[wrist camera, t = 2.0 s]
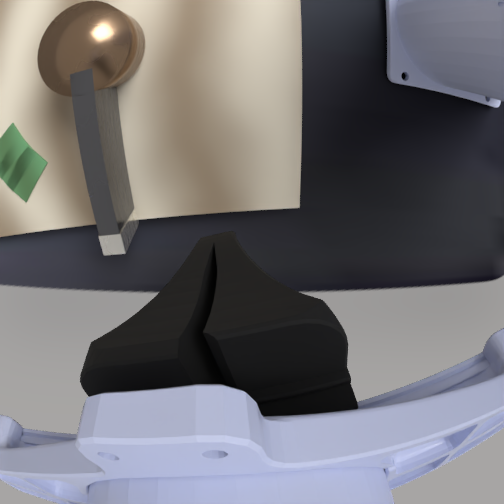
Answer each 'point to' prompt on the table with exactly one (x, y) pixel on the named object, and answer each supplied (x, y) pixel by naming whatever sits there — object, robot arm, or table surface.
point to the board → (160, 114)
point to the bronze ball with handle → (97, 104)
